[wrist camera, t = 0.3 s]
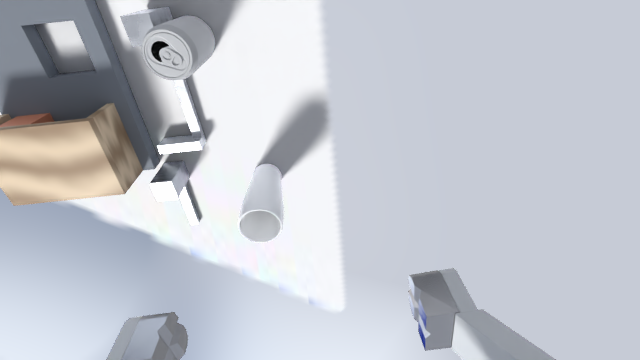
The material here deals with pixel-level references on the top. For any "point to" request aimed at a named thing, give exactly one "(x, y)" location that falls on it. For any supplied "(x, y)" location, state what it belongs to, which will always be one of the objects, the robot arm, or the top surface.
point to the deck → (69, 88)
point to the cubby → (67, 159)
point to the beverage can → (178, 47)
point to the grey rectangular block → (136, 30)
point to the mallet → (175, 187)
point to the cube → (29, 120)
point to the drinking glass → (262, 205)
